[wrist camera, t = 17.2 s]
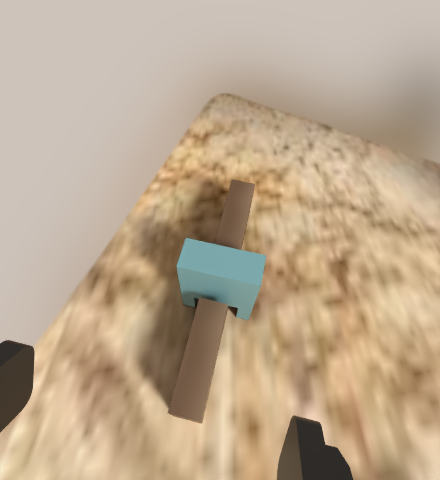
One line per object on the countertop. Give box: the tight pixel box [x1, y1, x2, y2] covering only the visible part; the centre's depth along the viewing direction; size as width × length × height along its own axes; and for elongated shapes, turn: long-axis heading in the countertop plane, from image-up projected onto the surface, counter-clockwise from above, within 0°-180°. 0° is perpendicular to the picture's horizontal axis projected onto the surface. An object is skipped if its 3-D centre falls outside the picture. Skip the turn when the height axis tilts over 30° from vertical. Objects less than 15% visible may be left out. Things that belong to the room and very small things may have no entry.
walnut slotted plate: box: [168, 180, 255, 423], centre depth 28 cm, size 2×20×5 cm, turn 167°
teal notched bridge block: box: [176, 238, 266, 320], centre depth 27 cm, size 6×2×8 cm, turn 77°
